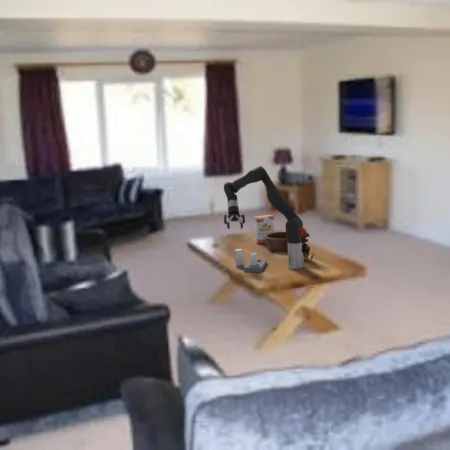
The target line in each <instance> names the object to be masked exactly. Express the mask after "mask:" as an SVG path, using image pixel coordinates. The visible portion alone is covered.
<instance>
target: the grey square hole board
mask: <svg viewBox="0 0 450 450" xmlns="http://www.w3.org/2000/svg"><path fill="white" fill-rule="evenodd" d="M267 261H268V259H267V258H258V267H250V258H249V259H248V260H247V261H246V264H245V265H243V273H262V272H263V270H264V269H265V267H266V265H267Z"/></svg>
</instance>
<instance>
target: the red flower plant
mask: <svg viewBox="0 0 450 450" xmlns="http://www.w3.org/2000/svg"><path fill="white" fill-rule="evenodd" d="M299 237H301V239H302V253H303V260H307V261H308V262H311V261H312V260H313V259H314V255H315V252H312V255H311V256H310V250H311V246H310V245H309V243H308V242H309V239H308V238H310V233H309V232H308V231H307V229H306V228H305V227H303V228H302V229H301V230H299ZM309 256H310V258H309Z"/></svg>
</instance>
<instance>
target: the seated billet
mask: <svg viewBox="0 0 450 450" xmlns="http://www.w3.org/2000/svg"><path fill="white" fill-rule="evenodd" d="M249 259H250V267H258V259H259V257H258V252H250V253H249Z"/></svg>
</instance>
